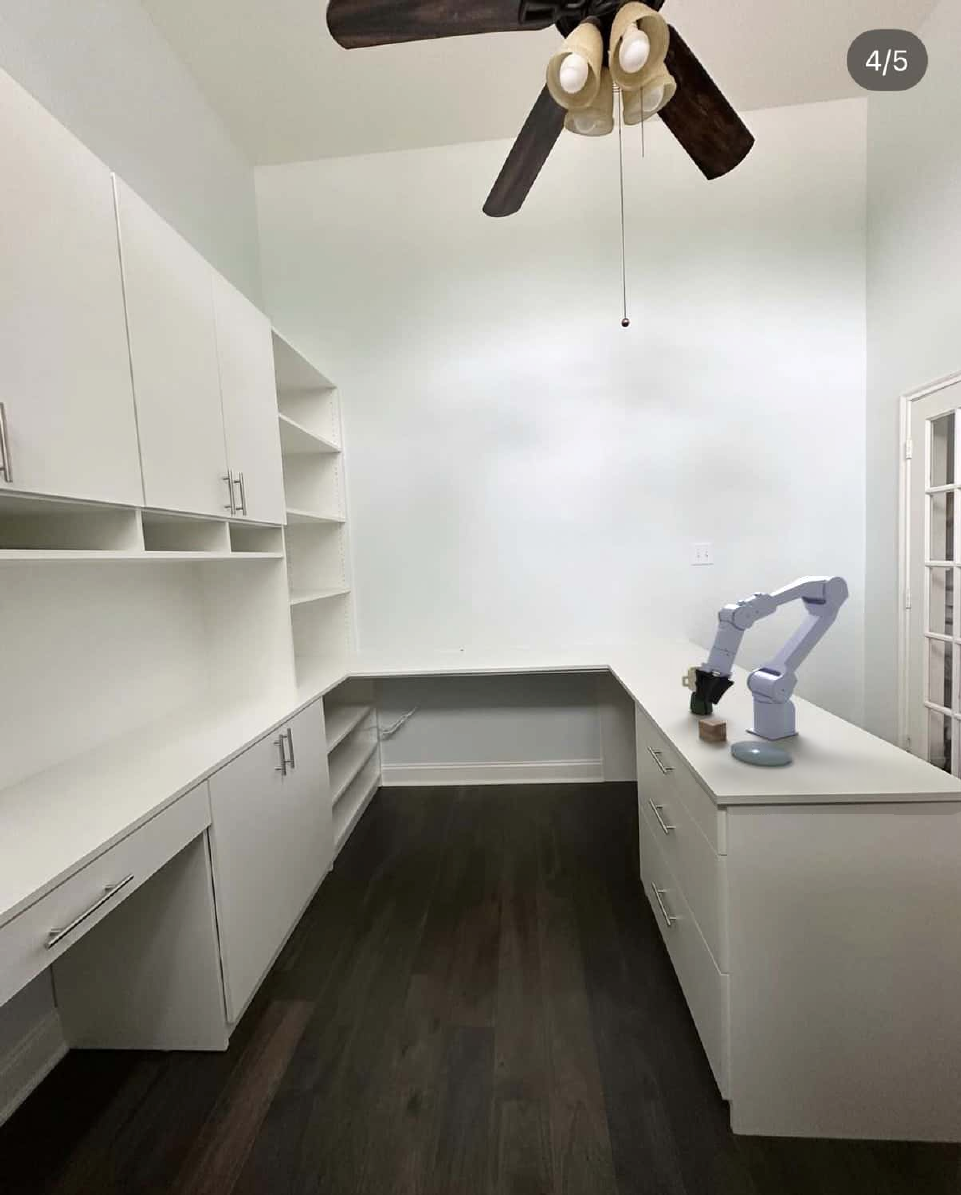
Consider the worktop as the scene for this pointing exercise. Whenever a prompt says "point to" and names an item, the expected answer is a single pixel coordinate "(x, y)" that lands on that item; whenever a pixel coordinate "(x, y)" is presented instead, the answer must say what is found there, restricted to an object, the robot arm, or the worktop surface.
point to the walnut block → (712, 730)
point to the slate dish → (761, 753)
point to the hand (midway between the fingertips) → (706, 702)
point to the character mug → (694, 703)
